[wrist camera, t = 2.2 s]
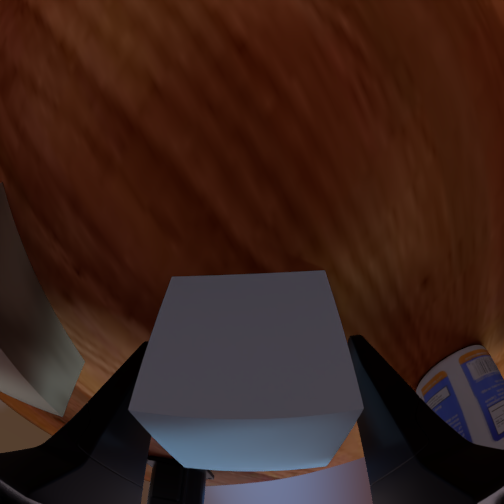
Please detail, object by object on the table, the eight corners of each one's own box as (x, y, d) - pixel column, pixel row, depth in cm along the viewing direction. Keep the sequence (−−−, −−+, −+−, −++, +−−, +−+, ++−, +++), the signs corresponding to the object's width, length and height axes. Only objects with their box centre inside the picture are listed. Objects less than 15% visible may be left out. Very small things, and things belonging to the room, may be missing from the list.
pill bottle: (423, 402, 15) (453, 517, 7) (404, 379, 13) (443, 531, 5) (486, 361, 13) (530, 473, 5) (483, 327, 11) (547, 471, 3)
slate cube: (312, 360, 12) (326, 465, 8) (199, 363, 12) (184, 467, 8) (324, 268, 9) (363, 408, 5) (172, 275, 9) (128, 409, 5)
